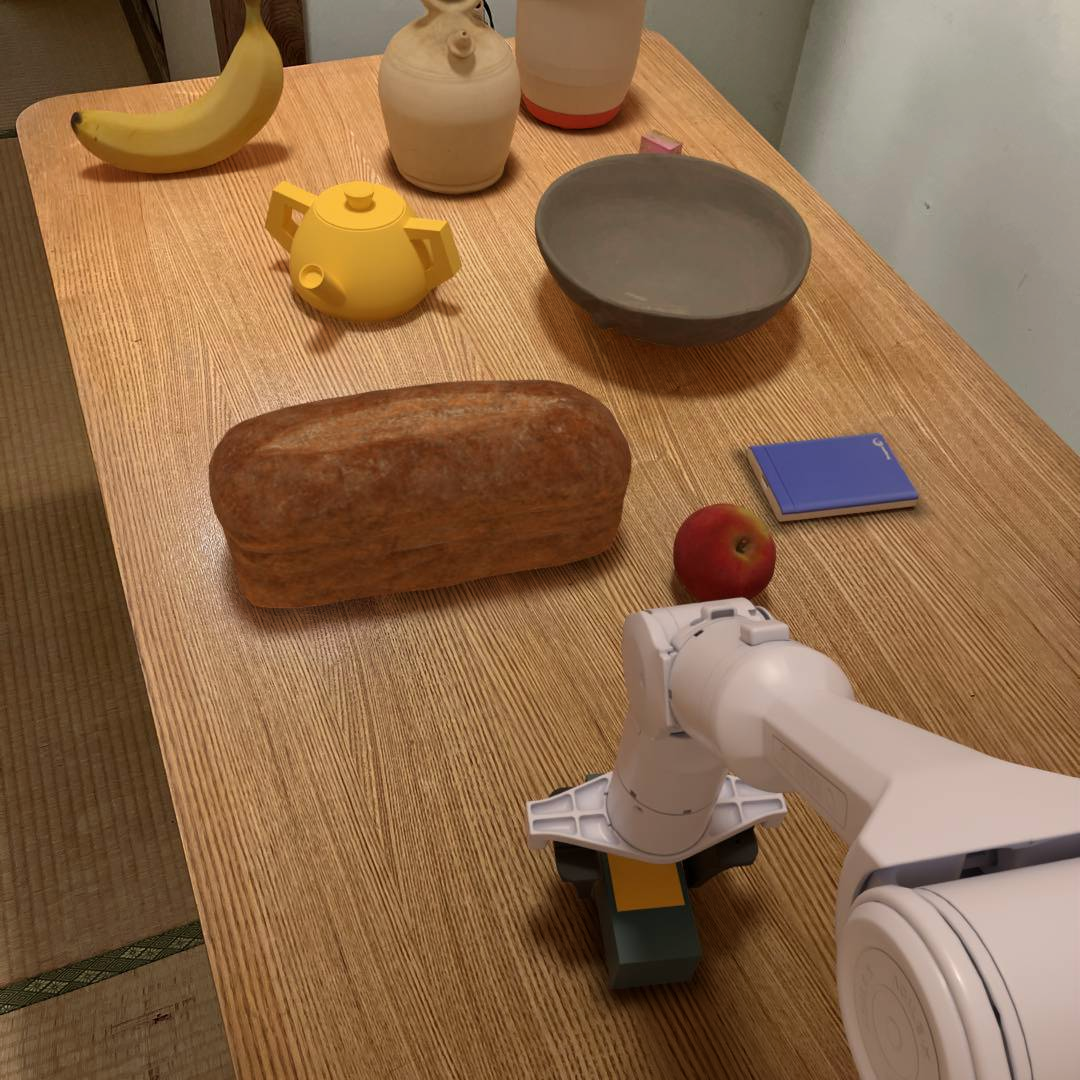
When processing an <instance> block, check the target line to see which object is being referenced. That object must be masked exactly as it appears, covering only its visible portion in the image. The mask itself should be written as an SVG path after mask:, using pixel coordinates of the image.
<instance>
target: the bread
mask: <svg viewBox="0 0 1080 1080" xmlns="http://www.w3.org/2000/svg"><path fill="white" fill-rule="evenodd" d="M632 462H633V461H632V452H631V449H630V445H629V441H628V440H627V438H626V436H625V434H624V432H623V431H622V428H621V427H620V426H619V424H618V422H617V420H616V418H615V416H614V415H613V413H612V411H611V410H610V409H609V408H608V407H607V406H606V405H605V404H604V403H603V402H602V401H601V400H600V399H599V398H597V397H595V396H593V395H592V394H590V393H588V392H586V391H584V390H582V389H581V388H579V387H576V386H574V385H573V384H571V383H565V382H559V381H557V380H556V381H555V380H551V379H506V380H505V379H503V380H502V379H500V380H498V379H497V380H496V379H495V380H493V379H492V380H491V379H490V380H488V379H487V380H486V379H485V380H457V381H456V380H455V381H454V380H453V381H442V382H433V383H432V382H431V383H424V384H415V385H409V386H402V387H396V388H386V389H385V388H384V389H378V390H377V389H376V390H375V389H374V390H370V391H365V392H360V393H359V392H358V393H355V394H349V395H344V396H343V395H342V396H337V397H329V398H324V399H319V400H313V401H307V402H304V403H299V404H294V405H290V406H284V407H281V408H278V409H275V410H271V411H268V412H265V413H261V414H258V415H255V416H253V417H250V418H248V419H245V420H241V421H240V422H238V423H237V424H235V425H233V426H232V427H230V428H229V429H227V431H226V432H225V434H224V435H223V437H222V438H221V439H220V441H219V442H218V443H217V445H216V446H215V448H214V449H213V452H212V455H211V458H210V460H209V463H208V487H209V488H208V489H209V490H208V491H209V497H210V501H211V505H212V508H213V512H214V515H215V517H216V518H217V521H218V523H219V524H220V526H221V528H222V531H223V534H224V538H225V541H226V544H227V548H228V551H229V554H230V557H231V560H232V564H233V567H234V570H235V574H236V577H237V580H238V583H239V587H240V589H241V592H242V594H243V596H244V597H245V598H246V599H247V600H248V601H249V602H250V603H251V604H252V605H253V606H254V607H261V608H270V609H271V608H273V609H300V608H301V609H302V608H308V607H317V606H324V605H329V604H333V603H338V602H343V601H344V602H345V601H350V600H356V599H362V598H369V597H370V598H371V597H376V596H381V595H382V596H383V595H389V594H390V595H391V594H396V593H397V594H398V593H405V592H415V591H416V592H417V591H426V590H433V589H441V588H447V587H451V586H452V587H453V586H455V585H459V584H464V583H468V582H471V581H476V580H480V579H485V578H490V577H496V576H500V575H501V576H502V575H506V574H512V573H517V572H523V571H530V570H531V571H532V570H538V569H545V568H552V567H560V566H563V565H568V564H571V563H575V562H578V561H582V560H586V559H589V558H592V557H595V556H598V555H601V554H602V553H604V552H605V551H608V550H609V549H610V548H612V546H613V543H614V541H615V539H616V536H617V534H618V530H619V527H620V525H621V521H622V518H623V517H622V516H623V510H624V501H625V497H626V494H627V491H628V486H629V484H630V483H629V482H630V477H631V472H632Z"/></svg>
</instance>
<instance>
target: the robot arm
mask: <svg viewBox="0 0 1080 1080" xmlns="http://www.w3.org/2000/svg"><path fill="white" fill-rule="evenodd" d="M621 661H622V671H623V677H624V684H625V689H626V694H627V699H628V701H629V702H628V706H627V711H626V714H625V719H624V723H623V727H622V731H621V736H620V740H619V743H618V747H617V752H616V756H615V761H614V766H613V770H611V771H608V772H605V773H606V774H604V775H601V776H599V777H597V778H595V779H592V780H590V781H588V782H585V781H584V782H583V783H581V784H579V785H575V786H563V787H558V788H556V789H554V790H553V791H552V792H551V793H550V794H549V796H548V797H546V798H542V799H537V800H530V801H529V800H528V801H526V802H525V809H524V817H523V818H524V819H523V821H524V829H525V837H526V843H527V844H526V845H527V850H528V851H537V850H544V849H546V848H547V847H548V842H549V841H552V847H553V853H554V861H555V867H556V872H557V874H558V877H559V879H560V880H561V882H562V883H563V884H564V883H570V884H571V885H572V886H573V887H574V888H575V889H574V890H575V896H576V899H577V900H578V901H581V900H589V899H590V898H591V897H592V892H593V888H594V883H595V882H596V880H602V875H601V869H600V863H599V858H598V852H597V850H598V851H602V852H606V853H610V854H615V855H619V856H623V857H627V858H631V859H635V860H639V861H644V862H648V863H654V864H670V863H675V862H679V861H681V863H682V868H683V872H684V876H685V881H686V885H687V889H688V890H693V889H699V888H701V887H702V886H703V885H705V884H706V883H707V882H709V881H711V880H712V879H713V878H715V877H716V876H718V875H720V874H721V873H723V872H725V871H727V870H731V869H734V868H739V867H748V866H752V865H753V864H754V863H755V862H756V859H757V856H758V854H759V845H758V840H757V837H756V833H755V828H756V825H759V824H760V826H761V827H762V828H763V829H767V830H768V829H769V830H770V829H779V828H780V827H781V826H782V824H783V822H784V820H785V818H786V816H787V814H788V807H787V804H786V801H785V797H784V794H790V793H791V794H792V793H795V792H796V793H798V795H799V796H800V797H801V798H802V799H803V800H804V802H806V803H807V804H808V806H810V807H811V809H813V811H815V812H816V814H817V815H819V817H820V818H821V819H822V820H823V821H824V822H825V823H826V824H827V825H828V826H829V827H830V828H831V829H832V830H833V831H834V833H835V834H837V836H838V837H839V838H840V839H841V840H842V841H843V842H844V843H845V844H846V845H847V846H848V848H849V850H848V851H847V854H846V856H845V858H844V861H843V864H842V867H841V871H840V875H839V879H838V883H837V888H836V896H835V908H834V936H835V953H836V960H835V961H836V962H835V976H836V977H835V979H836V989H837V998H838V1005H839V1011H840V1015H841V1021H842V1025H843V1029H844V1033H845V1037H846V1040H847V1044H848V1047H849V1051H850V1054H851V1057H852V1060H853V1063H854V1065H855V1068H856V1071H857V1075H858V1078H859V1080H1080V778H1079V777H1074V776H1069V775H1067V774H1062V773H1057V772H1053V771H1048V770H1044V769H1039V768H1035V767H1031V766H1026V765H1021V764H1017V763H1015V762H1011V761H1008V760H1004V759H1000V758H997V757H994V756H992V755H988V754H986V753H984V752H981V751H979V750H977V749H974V748H971V747H969V746H966V745H963V744H962V743H959V742H956V741H953V740H951V739H949V738H946V737H945V736H941V735H939V734H937V733H934V732H931V731H929V730H926V729H924V728H922V727H920V726H917V725H914V724H912V723H909V722H906V721H904V720H902V719H899V718H896V717H894V716H891V715H889V714H887V713H884V712H882V711H879V710H877V709H874V708H872V707H869V706H867V705H865V704H862V703H859V702H856V697H855V693H854V690H853V687H852V684H851V683H850V680H849V678H848V676H847V675H846V673H845V672H844V671H843V669H842V668H841V667H840V666H839V665H838V664H837V663H836V662H835V661H834V660H833V659H831V658H830V657H829V656H827V655H826V654H824V653H822V652H821V651H818V650H816V649H814V648H811V647H810V646H808V645H806V644H804V643H801V642H799V641H797V640H795V639H792V638H791V637H790V626H789V625H788V624H787V623H785V622H783V621H781V620H778V619H776V618H774V617H773V615H772V614H771V613H770V612H769V611H768V609H767V608H765V607H763V606H761V605H754V604H753V603H752V601H751V600H747V599H746V598H742V597H741V598H733V599H725V600H717V601H709V602H701V601H700V602H695V603H693V602H692V603H687V604H686V603H685V604H679V605H678V604H677V605H671V606H663V607H653V608H646V609H644V610H639V611H637V612H630V613H628V614H627V616H626V617H625V619H624V622H623V626H622V633H621ZM729 771H730V773H732V774H733V775H731V774H729Z"/></svg>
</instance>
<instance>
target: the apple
mask: <svg viewBox="0 0 1080 1080" xmlns="http://www.w3.org/2000/svg"><path fill="white" fill-rule="evenodd" d="M672 560H673V562H672V563H673V567H674V571H675V573H676V576H677V578H678V579H679V581H680V583H681V584H682V586H683V587H684V589H686V590H687V591H688V592H689V593H690V594H691V596H692V597H694V598H695V599H697V600H698V601H699V602H700V603H701V602H709V601H717V600H725V599H733V598H741V597H742V598H746V599H747V600H749V601H752V600H753V599H755V598H756V597H758V596H759V595H760V594H761V593H763V592H764V590H766V588H767V587H768V586H769V584H770V583H771V581H772V579H773V577H774V574H775V569H776V563H777V562H776V561H777V547H776V543H775V541H774V537H773V535H772V533H771V531H770V529H769V528H768V526H767V525H766V523H765V522H764V521H763V520H762V519H761V518H760V517H759V516H758V515H757V514H755V513H754V512H752V511H751V510H750V509H747V508H746V507H743V506H741V505H737V504H734V503H727V502H725V503H723V502H721V503H720V502H718V503H713V504H710V505H705V506H704V507H701V508H698V509H696V510H695V511H693V512H692V513H691V514H690V515H688V516H687V517H686V518H685V520H684V521H683V522H682V523H681V525H680V527H679V528H678V530H677V532H676V535H675V536H674V541H673V548H672Z"/></svg>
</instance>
